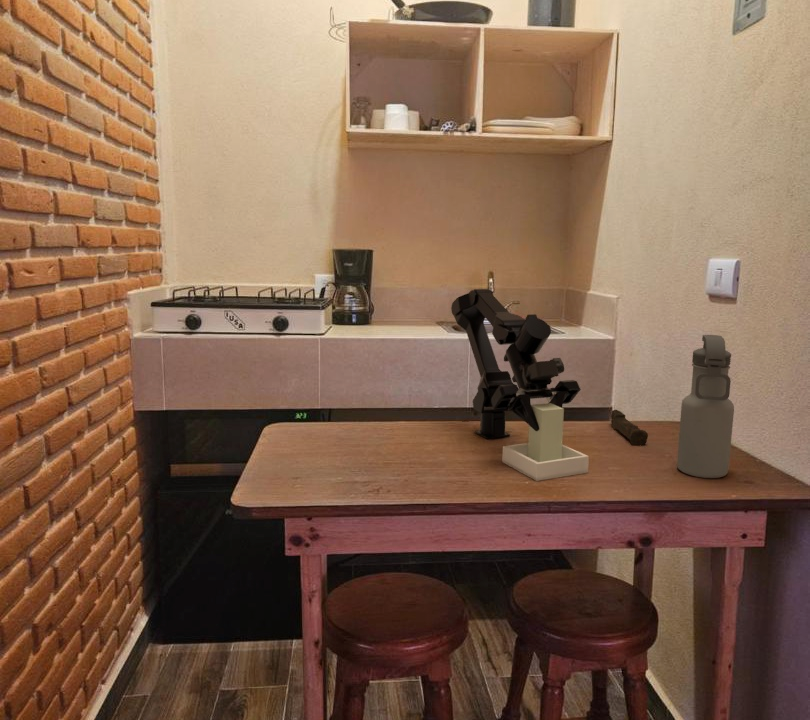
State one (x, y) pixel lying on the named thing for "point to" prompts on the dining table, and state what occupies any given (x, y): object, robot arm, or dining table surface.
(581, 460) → the box
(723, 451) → the water bottle
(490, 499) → the dining table surface
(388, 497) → the dining table surface
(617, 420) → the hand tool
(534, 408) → the pale green tall block
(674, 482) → the dining table surface
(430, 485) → the dining table surface
